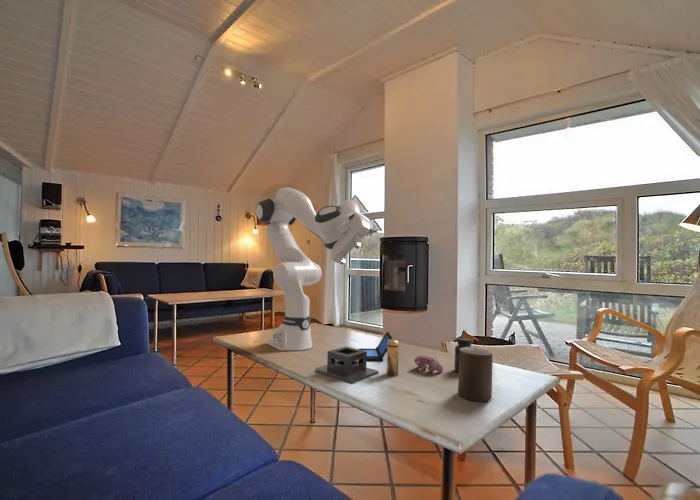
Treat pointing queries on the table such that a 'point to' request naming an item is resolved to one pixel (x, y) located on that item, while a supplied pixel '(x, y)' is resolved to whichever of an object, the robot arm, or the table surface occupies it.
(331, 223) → the robot arm
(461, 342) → the supplement bottle
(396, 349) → the gold cylindrical bottle
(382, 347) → the handheld game console
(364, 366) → the collar stand
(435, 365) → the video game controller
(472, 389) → the pillar candle
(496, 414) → the table surface
